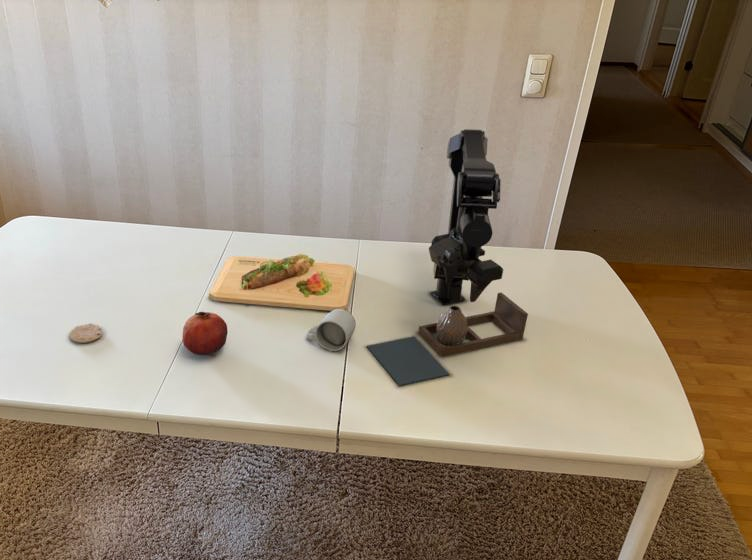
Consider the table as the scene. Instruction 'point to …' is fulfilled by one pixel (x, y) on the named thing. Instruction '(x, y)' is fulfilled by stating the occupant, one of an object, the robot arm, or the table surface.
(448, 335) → the vase
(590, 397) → the table surface
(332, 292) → the cutting board
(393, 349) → the mat
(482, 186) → the robot arm
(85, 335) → the flatbread
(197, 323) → the fruit
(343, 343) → the ceramic mug
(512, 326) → the cup stand
